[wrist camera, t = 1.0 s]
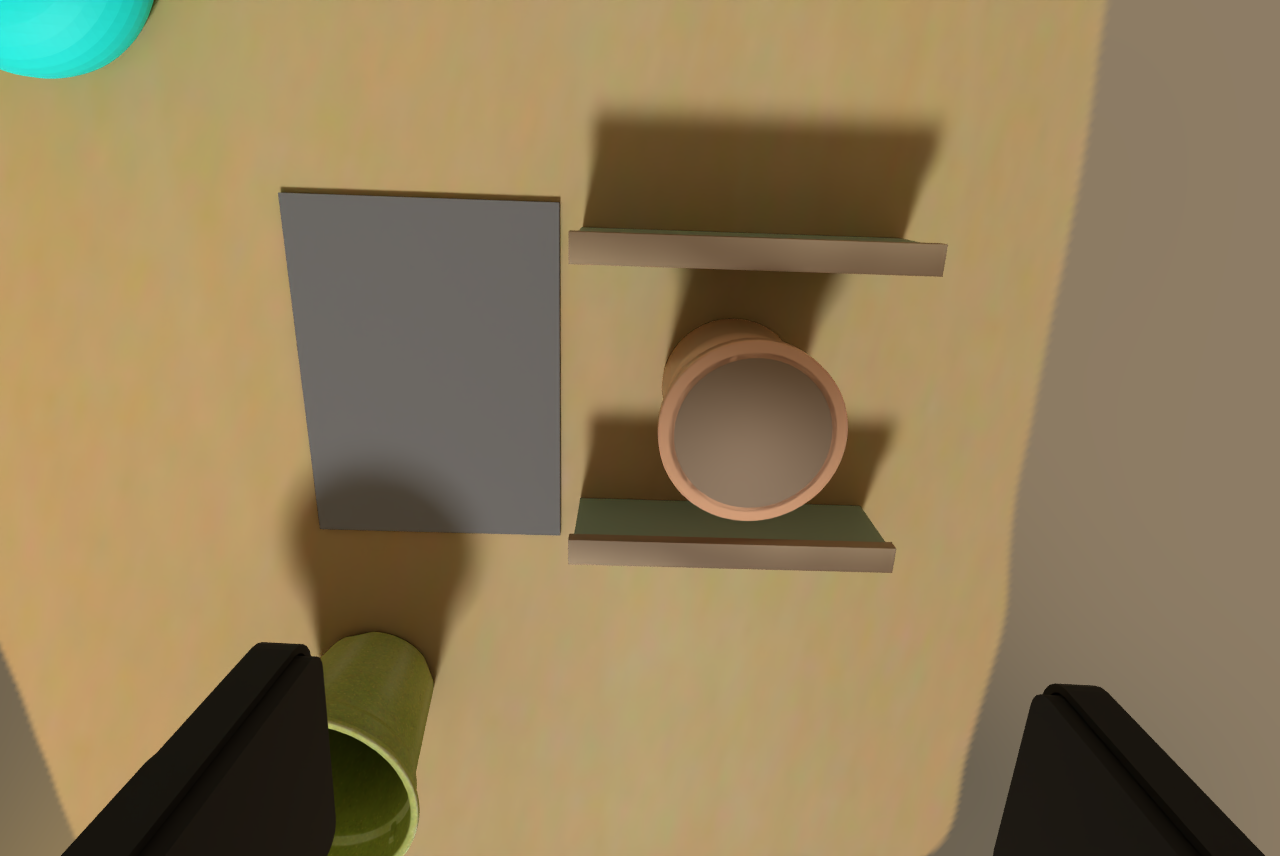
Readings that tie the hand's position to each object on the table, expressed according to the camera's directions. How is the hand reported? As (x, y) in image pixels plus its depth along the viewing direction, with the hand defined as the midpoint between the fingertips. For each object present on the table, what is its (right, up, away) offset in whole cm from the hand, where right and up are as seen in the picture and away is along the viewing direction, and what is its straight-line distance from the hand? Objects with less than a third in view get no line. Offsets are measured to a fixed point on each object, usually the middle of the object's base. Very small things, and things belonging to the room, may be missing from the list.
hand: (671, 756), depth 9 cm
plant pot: (-15, -9, +30) cm, 34 cm away
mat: (-10, +7, +24) cm, 27 cm away
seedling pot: (+4, +6, +24) cm, 25 cm away
